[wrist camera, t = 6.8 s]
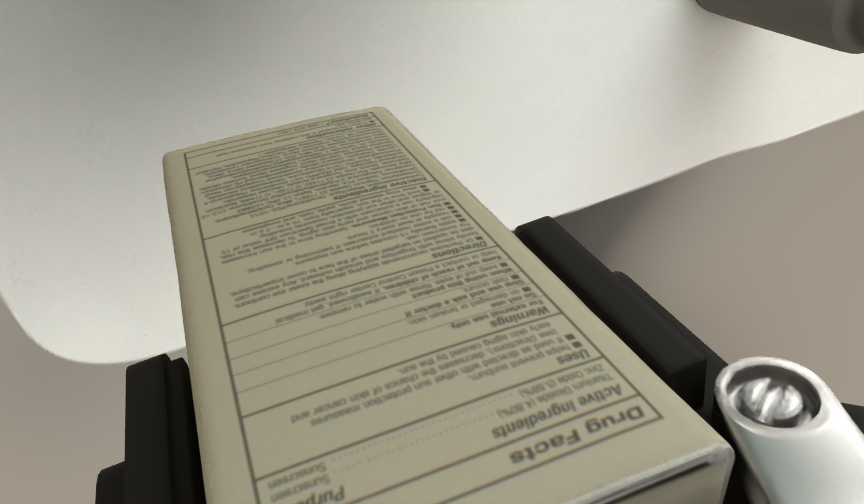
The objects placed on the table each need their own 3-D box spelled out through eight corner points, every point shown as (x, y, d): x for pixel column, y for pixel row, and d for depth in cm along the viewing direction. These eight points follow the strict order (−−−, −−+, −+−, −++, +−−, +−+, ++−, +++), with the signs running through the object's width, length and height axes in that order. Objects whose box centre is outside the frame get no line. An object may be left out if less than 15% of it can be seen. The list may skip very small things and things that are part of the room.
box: (209, 312, 16) (290, 879, 7) (156, 145, 14) (182, 677, 5) (416, 257, 18) (697, 683, 9) (399, 97, 15) (758, 452, 6)
